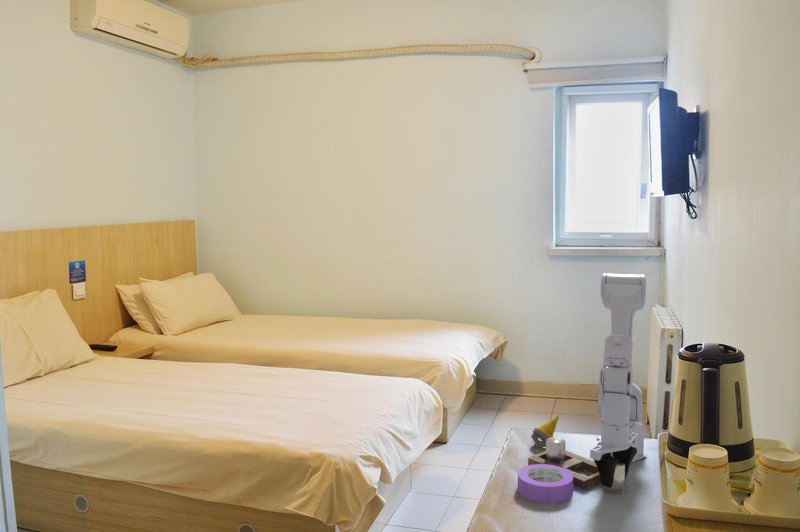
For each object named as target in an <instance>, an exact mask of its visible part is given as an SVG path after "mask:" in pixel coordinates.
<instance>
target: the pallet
mask: <svg viewBox="0 0 800 532" xmlns="http://www.w3.org/2000/svg"><path fill="white" fill-rule="evenodd" d="M535 464H548V465H554V466H558V467H562V468H564V469H566V470H568V471H569V472H571V473H572V475H573V487H576V488H578V489H580V490H583V491H584V490H587V489H589V488H592V487H594V486H596V485H599V484H600V483H601V484H602V482H601V478H600V474H599V471H598V468H597V466H596V464H595V462H594V460H593V459H592V460H591V459H590V458H587V457H584V456H581V455H579V454H576V453H573V452H570V451H569V450H566V449H565V462H562V463H560V464H554V463H552V462H549V461H547V460H546V450H545V451H542V452H540V453H537V454H535V455H532V456H529V457H528V459H527V466H528V465H535ZM580 471H584V472H587V473H589V474H590V475H588V476H585V475H582V474H581V473H578V472H580Z"/></svg>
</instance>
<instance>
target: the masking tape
mask: <svg viewBox="0 0 800 532" xmlns="http://www.w3.org/2000/svg"><path fill="white" fill-rule="evenodd" d="M517 491H518V494H519V495H520V496H521V497H523V498H525V499H526V500H529V501H531V502H536V503H540V504H558V503H563V502H565V501H568V500H569V499H571V498H572V497H573V496H574V485H573V475H572V473H571V472H569V471H568V470H566V469H564V468H562V467H558V466H554V465H548V464H535V465H528V464H527V465H526V466H523V467H522V468H520V469H518V472H517Z"/></svg>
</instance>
